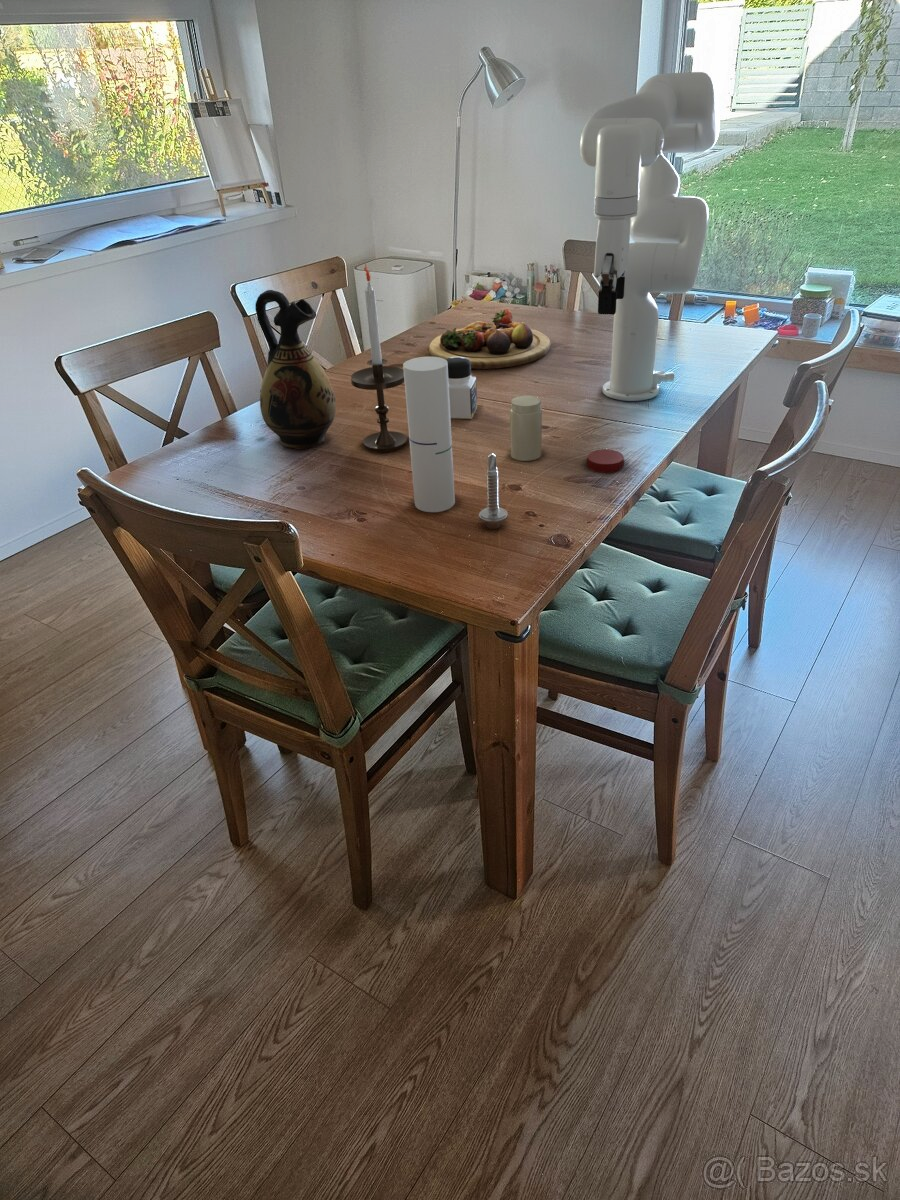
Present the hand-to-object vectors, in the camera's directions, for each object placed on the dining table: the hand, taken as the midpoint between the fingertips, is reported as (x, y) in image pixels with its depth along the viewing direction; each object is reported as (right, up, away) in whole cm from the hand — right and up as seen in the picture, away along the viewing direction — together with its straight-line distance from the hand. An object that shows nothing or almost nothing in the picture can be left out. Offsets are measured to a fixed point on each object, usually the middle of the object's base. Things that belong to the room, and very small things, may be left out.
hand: (610, 305), depth 153 cm
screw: (-23, -43, -15) cm, 51 cm away
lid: (-1, -28, +1) cm, 28 cm away
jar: (-15, -27, +8) cm, 31 cm away
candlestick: (-43, -23, +16) cm, 52 cm away
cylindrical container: (-33, -38, -8) cm, 51 cm away
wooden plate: (-20, +11, +64) cm, 67 cm away
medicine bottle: (-28, -14, +28) cm, 42 cm away
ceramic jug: (-62, -21, +20) cm, 68 cm away
